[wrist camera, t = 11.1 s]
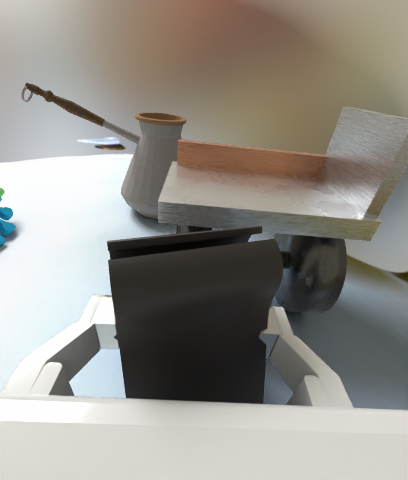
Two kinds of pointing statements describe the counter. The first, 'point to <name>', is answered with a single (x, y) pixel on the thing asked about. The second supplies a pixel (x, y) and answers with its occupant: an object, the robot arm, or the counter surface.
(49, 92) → the coffee pot
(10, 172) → the counter surface
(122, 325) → the phone stand
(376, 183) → the trolley
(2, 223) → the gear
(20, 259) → the counter surface
